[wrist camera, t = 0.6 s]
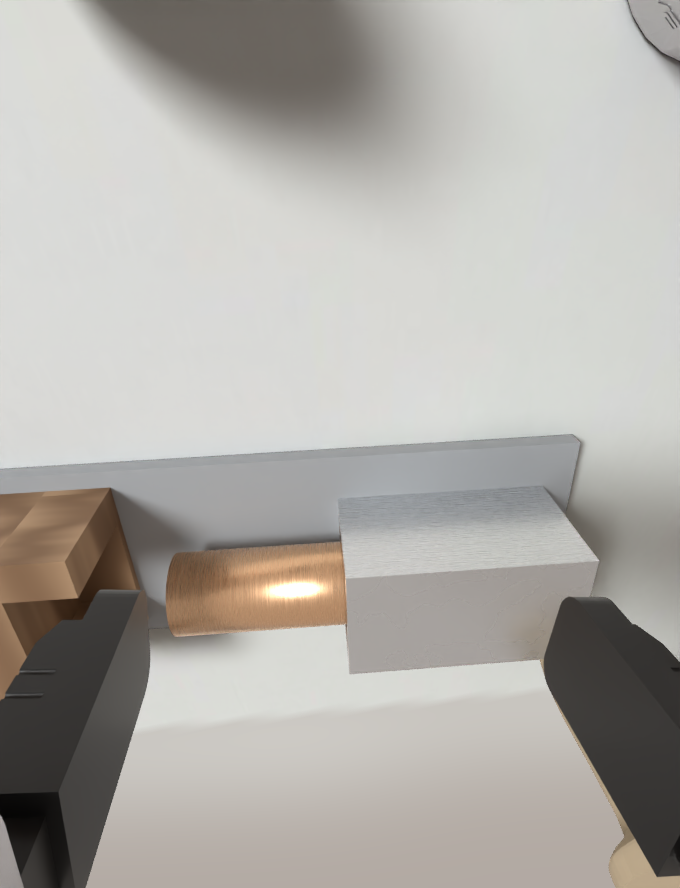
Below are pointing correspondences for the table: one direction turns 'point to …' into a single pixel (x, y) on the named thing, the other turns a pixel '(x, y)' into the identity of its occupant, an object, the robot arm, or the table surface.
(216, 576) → the copper tube
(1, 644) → the walnut socket
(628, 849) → the handle
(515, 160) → the table surface
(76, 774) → the robot arm
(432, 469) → the rubber mat
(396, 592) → the steel sleeve
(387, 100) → the table surface
